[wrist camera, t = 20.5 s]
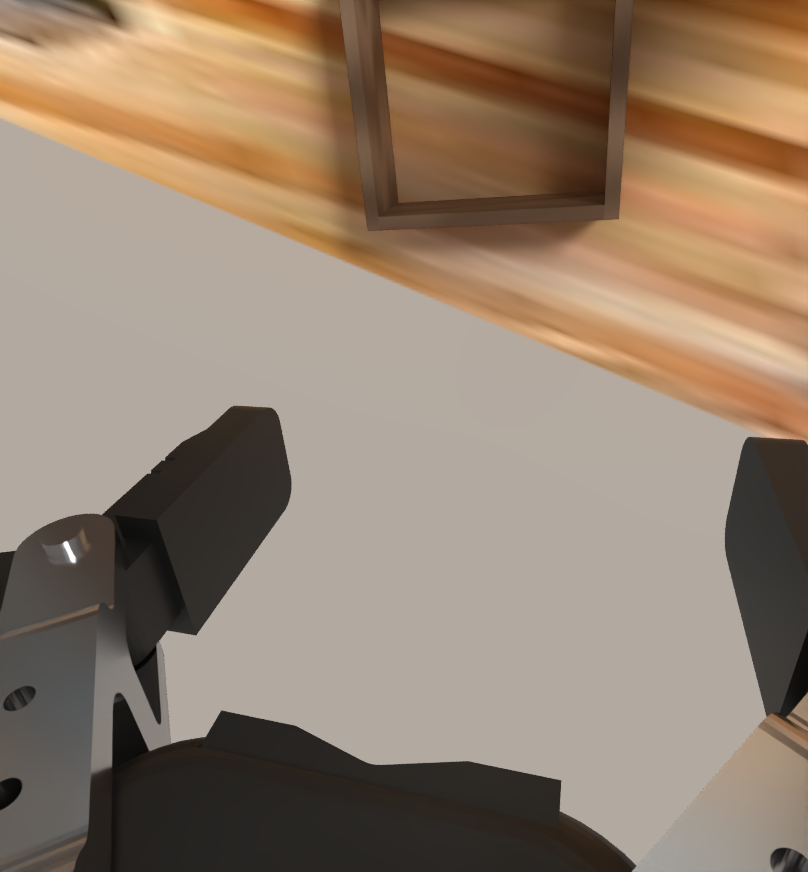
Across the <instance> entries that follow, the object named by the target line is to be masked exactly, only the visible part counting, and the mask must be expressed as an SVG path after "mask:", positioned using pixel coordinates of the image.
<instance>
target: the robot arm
mask: <svg viewBox="0 0 808 872" xmlns="http://www.w3.org/2000/svg"><path fill="white" fill-rule="evenodd" d="M290 494H291V475H290V470H289V465H288V460H287V455H286V450H285V445H284V440H283V435H282V430H281V425H280V420H279V417H278V415H277V413H276V411H275V410H274V409H272V408H266V407H249V406H233V407H231V408H229V409H228V410H227V411H226V412H225V413H224V414H223V415H222V416H221V417H220V418H219V419H218V420H217V421H216V422H214V423H213V424H212V425H211V426H210V427H209V428H208V429H207V430H204V431H202V432H200V433H199V434H197V435H195V436H193V437H191V438H189V439H187V440H185V441H183V442H182V443H181V444H180V445H179V446H178V447H176V448H175V449H174V450H173V451H172V452H171V453H170V454H169V455H168V456H166V458H165V461H161V462H160V463H159V464H158V465H157V466H155V467H154V468H153V469H152V470H151V474H147V475H146V476H144V477H143V478H142V479H141V480H140V481H139V482H138V483H137V484H136V485H134V486H133V487H132V488H131V489H130V490H129V491H128V492H127V493H126V494H124V495H123V496H122V497H121V498H120V499H119V500H118V501H117V502H116V503H114V504H113V505H112V506H111V507H110V508H109V509H108V510H107V511H106V512H105V513H104V514H102V515H99V514H81V515H75V516H70V517H66V518H63V519H60V520H57V521H55V522H53V523H50V524H48V525H46V526H44V527H42V528H40V529H39V530H37V531H35V532H34V533H33V534H31V535H30V536H29V537H27V538H26V539H25V540H24V541H23V542H22V543H21V544H20V545H19V547H18V548H17V550H16V551H11V552H2V553H0V872H808V445H807V443H806V442H805V441H804V440H794V439H777V438H760V437H748V438H747V439H746V441H745V443H744V445H743V448H742V451H741V456H740V460H739V465H738V469H737V474H736V479H735V483H734V487H733V492H732V496H731V501H730V506H729V511H728V515H727V521H726V528H725V550H726V557H727V561H728V565H729V569H730V573H731V577H732V581H733V585H734V589H735V593H736V597H737V601H738V605H739V609H740V613H741V617H742V621H743V625H744V629H745V632H746V637H747V640H748V645H749V649H750V652H751V656H752V661H753V665H754V668H755V672H756V676H757V680H758V684H759V688H760V692H761V696H762V700H763V704H764V708H765V712H766V716H767V718H766V719H764V720H763V721H762V722H761V723H760V725H759V726H758V727H757V728H756V729H755V730H754V731H753V733H752V734H751V735H750V736H749V738H748V739H746V741H745V742H744V743H743V744H742V745H741V747H740V748H739V749H738V750H737V751H736V752H735V753H734V754H733V756H732V757H731V758H730V759H729V760H728V761H727V763H726V764H725V765H724V766H723V767H722V768H721V769H720V771H719V772H718V773H717V774H716V775H715V777H714V778H713V779H712V780H711V781H710V782H709V783H708V784H707V786H706V787H705V788H704V789H703V790H702V791H701V793H700V794H699V795H698V796H697V797H696V798H695V800H694V801H693V802H692V803H691V804H690V805H689V806H688V807H687V809H686V810H685V811H684V812H683V813H682V814H681V816H680V817H679V818H678V819H677V820H676V821H675V823H674V824H673V825H672V826H671V827H670V828H669V829H668V831H667V832H666V833H665V834H664V835H663V836H662V838H661V839H660V840H659V841H658V842H657V843H656V844H655V846H654V847H653V848H652V849H651V850H650V851H649V852H648V854H647V855H646V856H645V857H644V858H643V859H642V861H641V862H640V863H639V864H638V865H637V866H636V865H635V864H634V863H633V862H632V861H631V860H630V859H629V858H628V857H627V856H626V855H625V854H624V853H623V852H622V851H620V850H619V849H618V848H617V847H615V846H614V845H613V844H612V843H610V842H609V841H608V840H607V839H605V838H604V837H603V836H602V835H600V834H598V833H597V832H595V831H594V830H592V829H591V828H589V827H588V826H586V825H585V824H583V823H581V822H580V821H578V820H576V819H574V818H572V817H570V816H568V815H566V814H564V813H562V812H560V811H559V810H560V792H561V780H556V779H551V778H546V777H542V776H537V775H532V774H527V773H522V772H517V771H512V770H508V769H503V768H498V767H493V766H488V765H483V764H478V763H474V762H468V761H466V762H464V761H463V762H440V763H417V764H396V765H395V764H394V765H373V764H369V763H366V762H364V761H362V760H360V759H358V758H356V757H354V756H352V755H350V754H348V753H346V752H344V751H342V750H340V749H338V748H337V747H335V746H333V745H331V744H329V743H327V742H325V741H323V740H322V739H320V738H318V737H316V736H314V735H312V734H310V733H308V732H306V731H304V730H303V729H301V728H299V727H297V726H294V725H289V724H284V723H279V722H274V721H269V720H264V719H259V718H254V717H249V716H245V715H240V714H235V713H231V712H226V711H221V712H220V714H219V716H218V717H217V719H216V721H215V722H214V724H213V726H212V727H211V729H210V731H209V733H208V734H207V736H206V737H202V738H196V739H190V740H184V741H179V742H176V743H172V744H171V738H170V725H169V713H168V700H167V689H166V677H165V663H164V654H163V650H162V647H161V645H160V642H159V640H160V639H161V638H162V636H163V635H164V634H165V632H166V631H167V630H168V631H174V632H180V633H185V634H191V635H197V633H198V632H199V630H200V629H201V628H202V626H203V625H204V623H205V622H206V621H207V619H208V618H209V616H210V615H211V613H212V612H213V611H214V609H215V608H216V606H217V605H218V604H219V602H220V601H221V599H222V598H223V596H224V595H225V594H226V592H227V591H228V589H229V588H230V587H231V585H232V584H233V582H234V581H235V580H236V578H237V577H238V575H239V574H240V573H241V571H242V570H243V568H244V567H245V565H246V564H247V563H248V561H249V560H250V559H251V557H252V556H253V554H254V553H255V551H256V550H257V549H258V547H259V546H260V544H261V543H262V541H263V540H264V539H265V537H266V536H267V535H268V533H269V532H270V530H271V529H272V527H273V526H274V525H275V523H276V522H277V520H278V519H279V518H280V516H281V515H282V513H283V512H284V511H285V509H286V507H287V505H288V502H289V499H290Z"/></svg>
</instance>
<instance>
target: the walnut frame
mask: <svg viewBox="0 0 808 872" xmlns="http://www.w3.org/2000/svg"><path fill="white" fill-rule="evenodd" d="M339 4H340V12H341V20H342V28H343V36H344V44H345V52H346V60H347V68H348V76H349V84H350V92H351V100H352V108H353V116H354V124H355V132H356V140H357V148H358V156H359V164H360V172H361V180H362V188H363V196H364V204H365V212H366V220H367V228H368V231H376V230H398V229H419V228H441V227H462V226H484V225H505V224H527V223H548V222H570V221H591V220H613V219H619V207H620V192H621V177H622V162H623V147H624V132H625V117H626V102H627V87H628V72H629V56H630V41H631V26H632V11H633V0H615V12H614V30H613V49H612V67H611V85H610V104H609V122H608V140H607V159H606V177H605V191H597V192H580V193H563V194H546V195H529V196H512V197H495V198H478V199H461V200H444V201H427V202H410V203H398V196H397V186H396V176H395V166H394V156H393V146H392V136H391V126H390V116H389V106H388V96H387V86H386V76H385V66H384V56H383V46H382V36H381V26H380V16H379V6H378V0H339Z"/></svg>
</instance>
